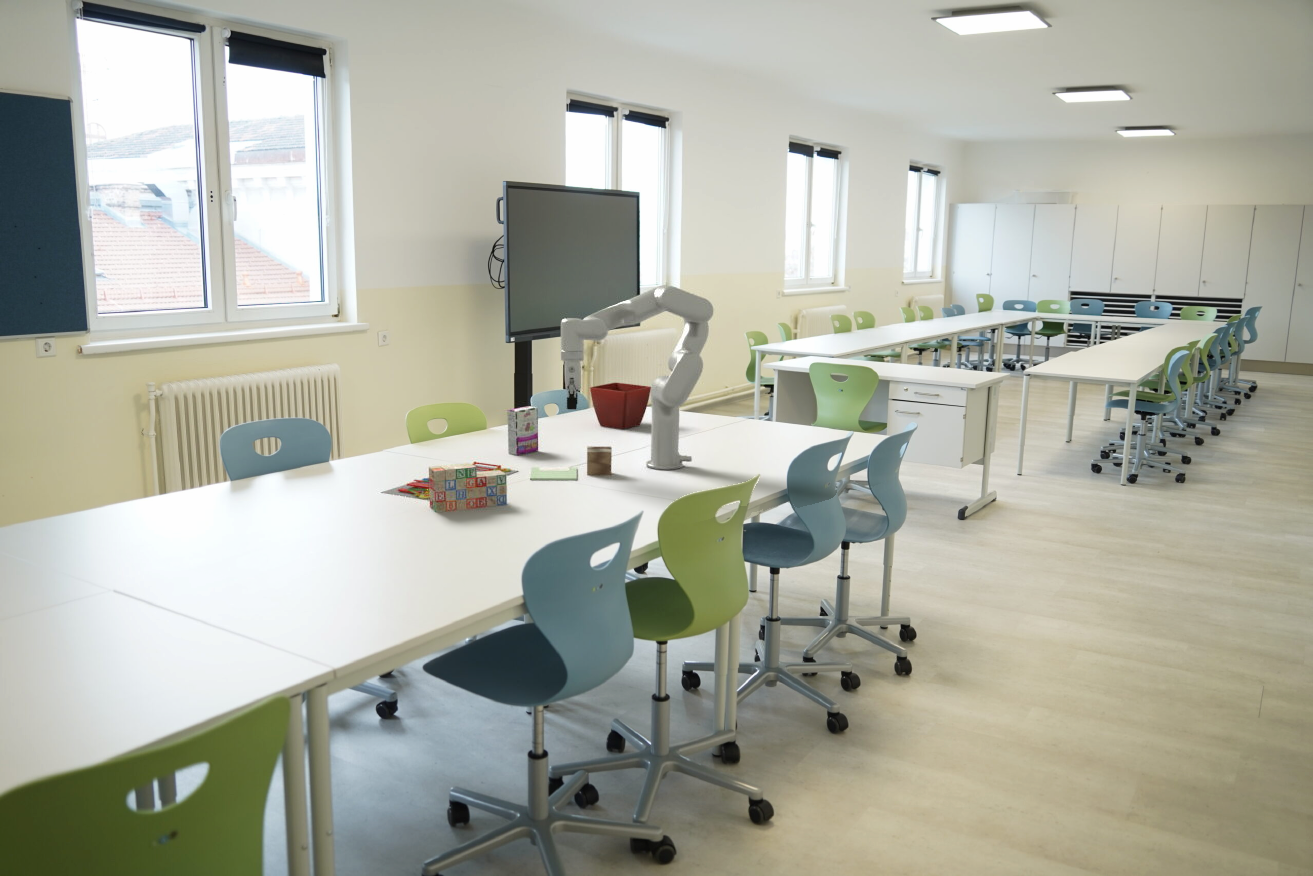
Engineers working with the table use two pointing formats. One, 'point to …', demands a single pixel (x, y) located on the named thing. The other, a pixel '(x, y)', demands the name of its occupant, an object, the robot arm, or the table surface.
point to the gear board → (422, 486)
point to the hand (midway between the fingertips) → (572, 406)
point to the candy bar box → (522, 430)
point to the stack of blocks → (465, 487)
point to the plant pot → (620, 404)
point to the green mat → (553, 473)
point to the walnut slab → (599, 460)
